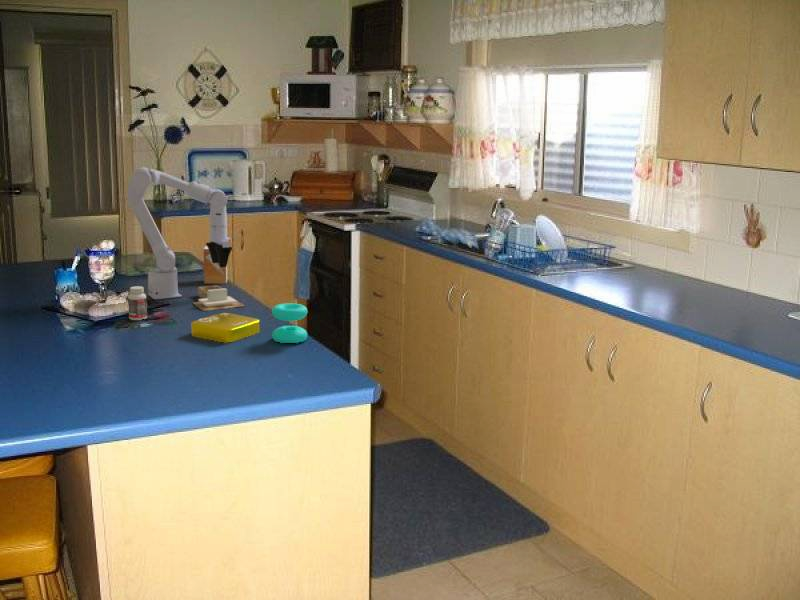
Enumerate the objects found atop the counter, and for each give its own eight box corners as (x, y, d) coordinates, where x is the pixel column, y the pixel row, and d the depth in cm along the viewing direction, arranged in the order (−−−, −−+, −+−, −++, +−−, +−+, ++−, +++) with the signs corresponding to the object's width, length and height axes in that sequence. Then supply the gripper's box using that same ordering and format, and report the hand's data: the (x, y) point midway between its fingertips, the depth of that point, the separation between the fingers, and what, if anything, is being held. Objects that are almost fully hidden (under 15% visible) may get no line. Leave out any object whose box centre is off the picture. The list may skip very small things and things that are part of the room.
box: (207, 302, 281) (207, 293, 280) (198, 295, 289) (197, 287, 289) (227, 300, 285) (227, 291, 284) (217, 293, 293) (217, 285, 292)
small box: (204, 284, 307) (203, 248, 304) (205, 280, 313) (204, 245, 310) (226, 284, 308) (225, 248, 305) (227, 280, 314) (227, 245, 311)
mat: (203, 311, 269) (203, 310, 269) (192, 303, 279) (192, 302, 278) (244, 306, 276) (244, 305, 276) (233, 299, 286) (233, 298, 285)
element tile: (227, 345, 236) (227, 329, 235) (188, 336, 243) (187, 320, 242) (262, 333, 248) (262, 317, 247) (224, 325, 256) (223, 310, 254)
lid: (237, 305, 277) (236, 290, 276) (205, 308, 271) (205, 293, 270) (229, 300, 283) (228, 285, 282) (198, 303, 278) (197, 288, 277)
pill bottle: (140, 321, 256) (139, 290, 253) (125, 319, 257) (123, 288, 255) (150, 317, 261) (149, 286, 258) (135, 315, 262) (134, 284, 260)
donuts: (296, 312, 232) (265, 308, 236) (296, 347, 235) (265, 342, 238) (313, 304, 241) (283, 300, 245) (313, 338, 244) (283, 333, 247)
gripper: (237, 228, 283) (237, 267, 286) (222, 222, 295) (223, 260, 298) (216, 229, 279) (217, 269, 282) (202, 223, 291) (204, 261, 294)
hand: (219, 264), depth 290 cm, fingers open, 7 cm apart
